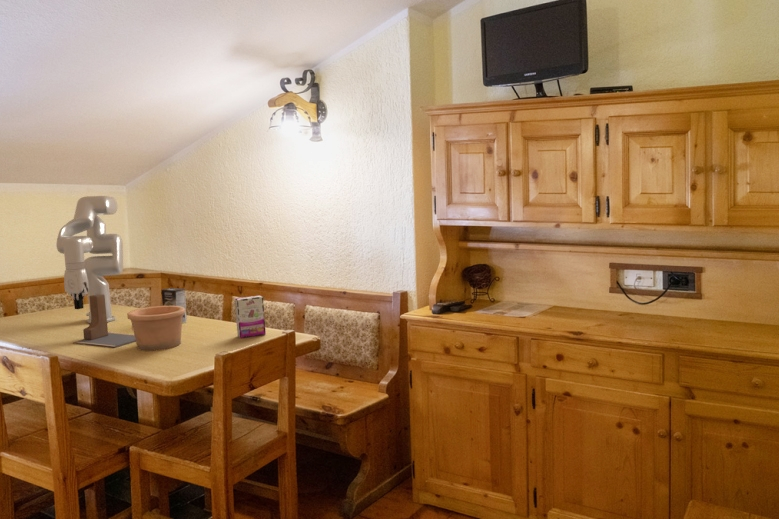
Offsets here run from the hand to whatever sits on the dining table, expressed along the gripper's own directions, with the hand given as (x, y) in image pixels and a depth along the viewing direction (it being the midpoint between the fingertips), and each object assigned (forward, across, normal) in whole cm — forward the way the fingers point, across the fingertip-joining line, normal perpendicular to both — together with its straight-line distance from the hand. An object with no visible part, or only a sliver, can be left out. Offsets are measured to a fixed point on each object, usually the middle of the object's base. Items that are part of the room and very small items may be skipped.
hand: (79, 308), depth 277 cm
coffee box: (+13, +19, +36) cm, 43 cm away
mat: (+13, +18, 0) cm, 22 cm away
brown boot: (+12, +9, 0) cm, 15 cm away
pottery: (+13, +45, 0) cm, 47 cm away
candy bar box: (+13, +71, +26) cm, 77 cm away
